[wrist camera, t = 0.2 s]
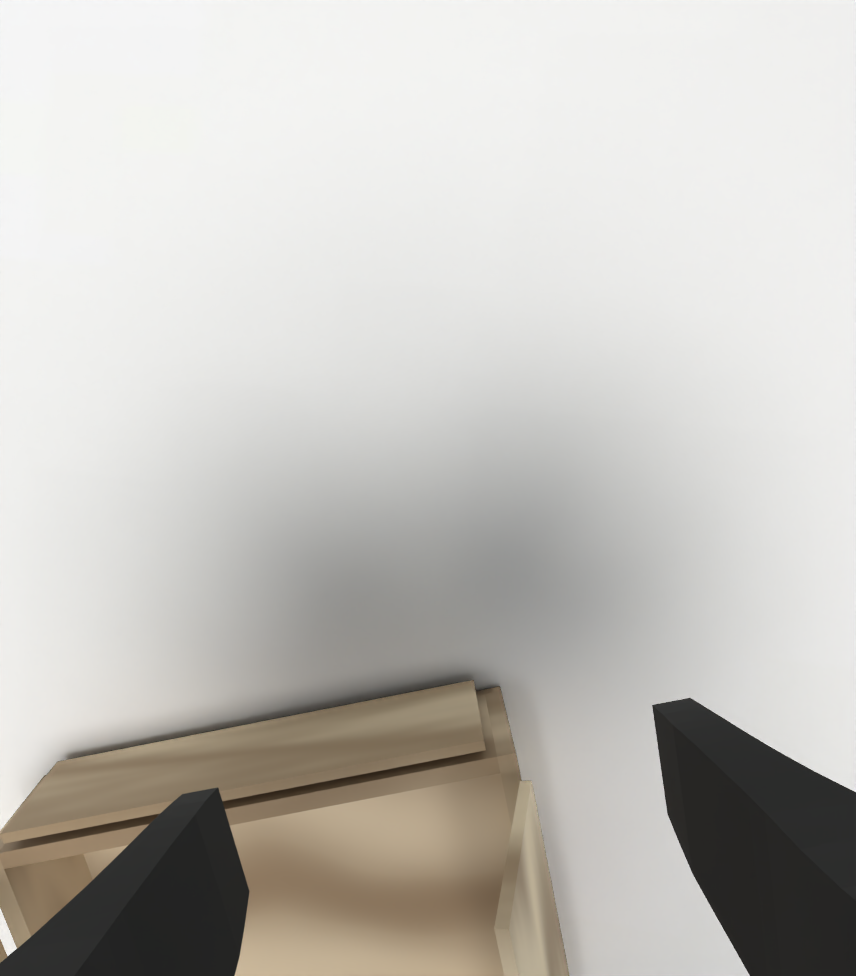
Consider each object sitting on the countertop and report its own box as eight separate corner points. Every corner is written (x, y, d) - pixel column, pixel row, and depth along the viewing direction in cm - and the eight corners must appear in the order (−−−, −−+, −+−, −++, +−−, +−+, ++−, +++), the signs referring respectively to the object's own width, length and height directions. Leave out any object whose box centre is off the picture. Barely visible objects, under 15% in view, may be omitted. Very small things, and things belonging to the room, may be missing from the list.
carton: (563, 1007, 25) (587, 1115, 22) (156, 1082, 26) (116, 1200, 22) (496, 670, 22) (512, 734, 19) (35, 761, 23) (-32, 839, 19)
